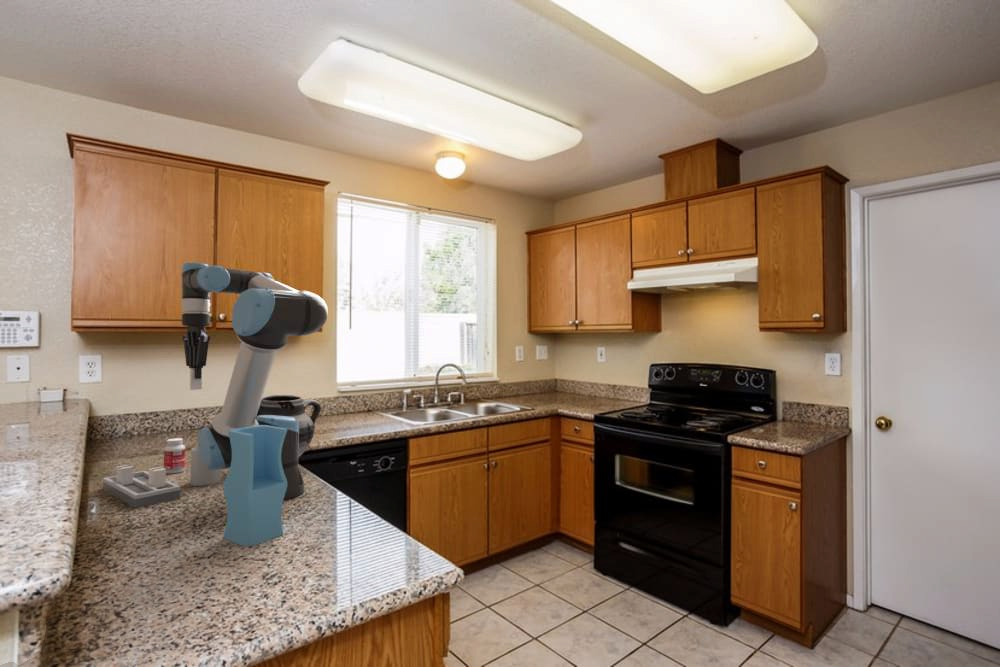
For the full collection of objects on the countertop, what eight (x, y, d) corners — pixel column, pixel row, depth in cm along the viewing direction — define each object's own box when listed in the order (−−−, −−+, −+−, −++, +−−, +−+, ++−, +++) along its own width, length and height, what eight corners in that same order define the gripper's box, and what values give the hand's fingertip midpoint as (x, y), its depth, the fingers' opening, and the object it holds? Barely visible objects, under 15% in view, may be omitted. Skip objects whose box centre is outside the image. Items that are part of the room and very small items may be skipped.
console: (180, 498, 146) (180, 486, 146) (135, 508, 137) (135, 495, 137) (144, 481, 162) (145, 470, 163) (102, 489, 154) (102, 478, 154)
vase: (247, 547, 113) (248, 435, 113) (222, 537, 118) (224, 430, 118) (286, 533, 121) (288, 428, 121) (261, 524, 126) (263, 424, 127)
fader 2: (165, 486, 149) (166, 468, 149) (153, 488, 146) (154, 470, 146) (160, 483, 151) (160, 466, 151) (148, 486, 149) (149, 468, 149)
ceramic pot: (309, 454, 202) (310, 391, 202) (330, 466, 184) (331, 397, 184) (229, 465, 184) (230, 395, 184) (244, 479, 166) (245, 402, 166)
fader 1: (133, 483, 151) (133, 466, 151) (120, 485, 149) (121, 468, 149) (128, 481, 153) (128, 464, 153) (116, 483, 151) (116, 465, 151)
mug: (219, 484, 160) (219, 449, 160) (187, 487, 157) (188, 451, 157) (224, 474, 171) (224, 442, 171) (194, 477, 168) (195, 444, 168)
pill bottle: (172, 474, 170) (173, 441, 170) (159, 473, 172) (159, 440, 172) (189, 470, 176) (189, 438, 176) (175, 468, 178) (176, 437, 178)
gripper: (219, 312, 157) (219, 389, 156) (198, 314, 164) (198, 387, 164) (193, 311, 151) (193, 391, 150) (173, 313, 158) (172, 389, 158)
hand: (195, 389), depth 157 cm, fingers closed
